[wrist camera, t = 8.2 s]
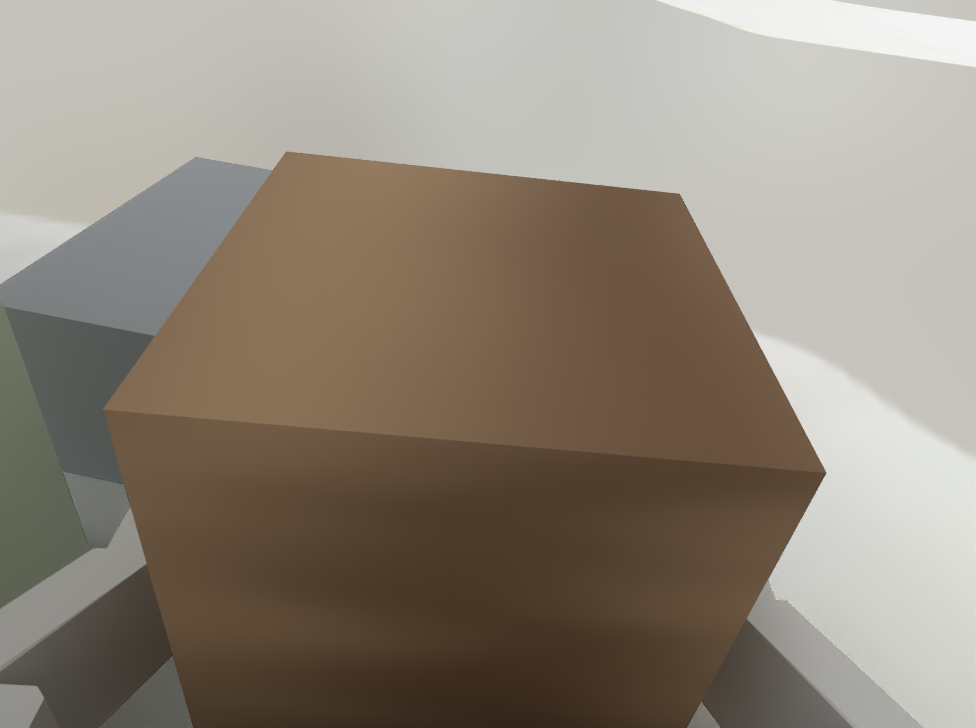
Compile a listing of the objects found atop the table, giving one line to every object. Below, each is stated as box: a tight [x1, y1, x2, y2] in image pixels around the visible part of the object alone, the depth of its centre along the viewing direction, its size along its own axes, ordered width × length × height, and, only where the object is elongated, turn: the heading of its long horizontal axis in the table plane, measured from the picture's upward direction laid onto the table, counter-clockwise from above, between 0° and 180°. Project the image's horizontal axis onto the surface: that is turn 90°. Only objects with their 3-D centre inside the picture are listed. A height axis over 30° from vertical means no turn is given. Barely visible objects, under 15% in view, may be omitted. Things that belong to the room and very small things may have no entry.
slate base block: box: [0, 157, 273, 484], centre depth 19 cm, size 9×9×5 cm
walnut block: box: [103, 152, 826, 728], centre depth 10 cm, size 5×5×10 cm
